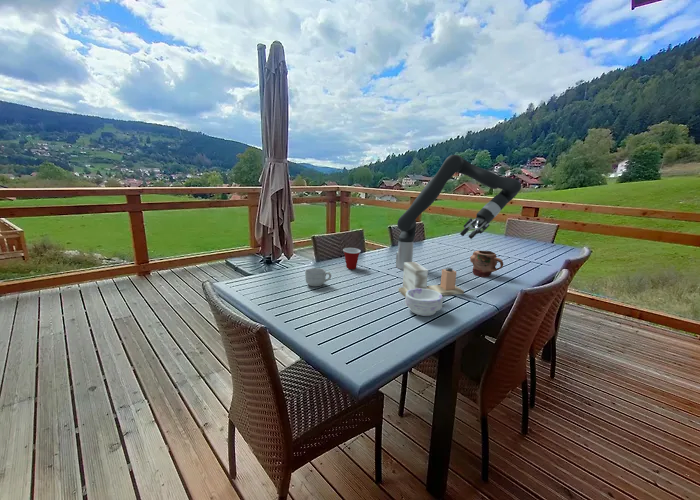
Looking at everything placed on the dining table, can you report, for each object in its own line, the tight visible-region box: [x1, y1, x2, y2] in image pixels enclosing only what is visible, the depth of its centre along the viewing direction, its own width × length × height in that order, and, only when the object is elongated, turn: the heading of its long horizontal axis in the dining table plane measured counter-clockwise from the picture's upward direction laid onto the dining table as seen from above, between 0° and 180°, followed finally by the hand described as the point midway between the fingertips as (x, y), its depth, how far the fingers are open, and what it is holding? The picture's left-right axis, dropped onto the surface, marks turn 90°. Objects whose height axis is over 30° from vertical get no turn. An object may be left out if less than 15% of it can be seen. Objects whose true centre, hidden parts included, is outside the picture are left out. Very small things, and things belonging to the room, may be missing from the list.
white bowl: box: [404, 288, 444, 317], centre depth 125 cm, size 15×15×8 cm
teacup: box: [304, 267, 332, 287], centre depth 154 cm, size 14×11×8 cm
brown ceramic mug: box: [469, 249, 504, 278], centre depth 172 cm, size 20×12×14 cm, turn 40°
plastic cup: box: [342, 247, 361, 270], centre depth 183 cm, size 11×11×12 cm
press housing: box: [398, 261, 465, 298], centre depth 146 cm, size 30×14×14 cm, turn 102°
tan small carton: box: [440, 267, 457, 290], centre depth 147 cm, size 5×5×10 cm
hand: (465, 236), depth 150 cm, fingers open, 7 cm apart
